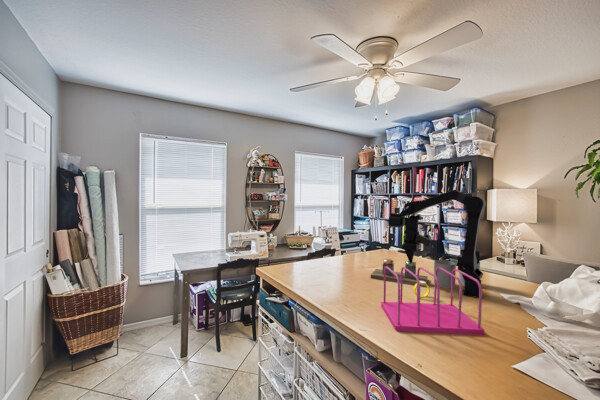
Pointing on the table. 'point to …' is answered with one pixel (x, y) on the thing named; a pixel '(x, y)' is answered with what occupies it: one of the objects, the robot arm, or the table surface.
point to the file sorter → (431, 310)
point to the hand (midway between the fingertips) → (410, 262)
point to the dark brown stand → (390, 276)
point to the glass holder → (477, 265)
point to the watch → (422, 284)
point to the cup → (444, 273)
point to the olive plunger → (410, 264)
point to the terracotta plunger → (388, 261)
